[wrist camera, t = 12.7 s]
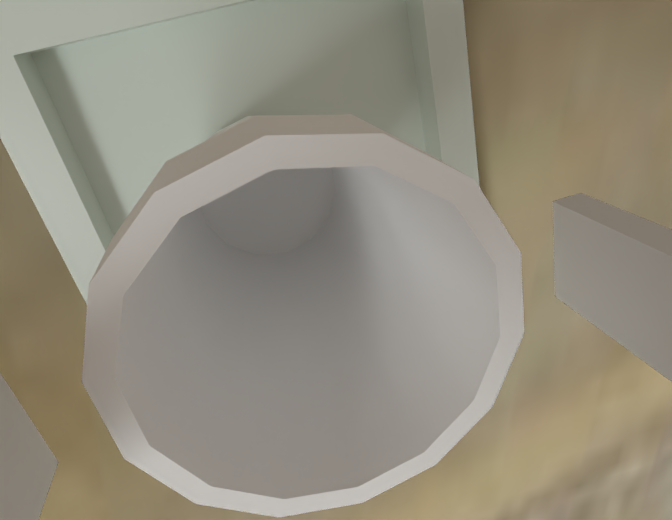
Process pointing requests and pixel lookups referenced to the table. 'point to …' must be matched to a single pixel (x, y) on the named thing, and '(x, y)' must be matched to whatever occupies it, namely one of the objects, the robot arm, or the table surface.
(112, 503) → the table surface
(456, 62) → the tray
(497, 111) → the table surface
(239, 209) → the foam cup
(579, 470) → the table surface
